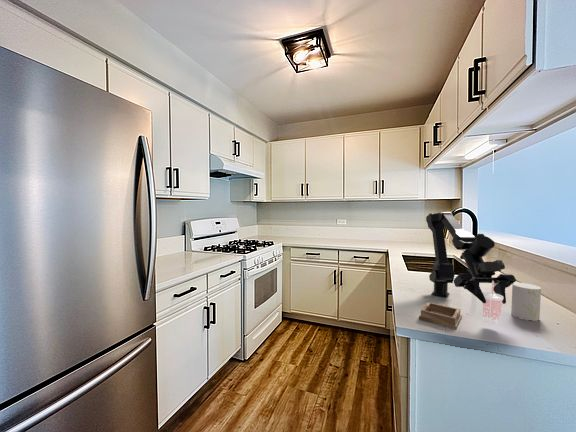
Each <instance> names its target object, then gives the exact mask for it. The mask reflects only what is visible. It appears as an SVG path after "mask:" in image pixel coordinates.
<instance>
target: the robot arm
mask: <svg viewBox="0 0 576 432" xmlns="http://www.w3.org/2000/svg"><path fill="white" fill-rule="evenodd" d="M425 221H426V223H427V227H428V229H430V231H431V233H432V239H433V247H434V248H433V249H434V258H435V262H434V264H433V266H432V271H431V272H430V274H429V275H428V278H429V281H430V282H432V283H433V291H432V292H431V295H433V296H438V297H443V298H448V297H449V296H450V292H449V291H448V289H449V284H454V286H455V288H456V287H457V288H463V289H464V290H467V291H468V292H469V293H471V294H472V295H473V296H475V297H476V298H477V299H478V300H479V301H480V302H482V304H483V303H486V300H485V297H484V295H483V293H482V292H483V291H482V289H481V286H480V284H492V281H494V290H493V293H496V294H500V295H502V296H503V297H504V298H503V300H502V305H505V304H506V303H507V297H506V296H507V295H506V289H507V288H509V287H511V285H512V284H513V283H516V282H517V279H516V277H515V276H514V274H511V273H500V274H498V275H497V277H492V276H495V275H496V272H502V270H505V269H506V266H505V263H504V262H503V260H501V259H496V260H493V261H484V258H483V257H485V256H487V255H488V253H490V251H492V250H493V248H494V247H495V244H496V243H495V241H494V240H493V239H492V238H491V237H489V236H486V235H485V233H477V234H476V235H473V234H472V233H470V232H469V231H466V230H464V228H463V226H461V224H460V223H459V221H457V219H456V218H455V217H454V214H453V212H450V211H440V212H436V213H432V212H431V213H428V215H426V218H425ZM445 228H446V230H447V231H448V232H449V234H450V235H451V237H452V239H451V242H452V244H453V246H454V248H455V249H456V250H459V251H462V252H461V255H460V257H459V259H460V260H464V262H465V264H466V267H467V268H466V271H467V272H466V273H465V272H464V273H462V272H461V273H458V274H457V276H456V277H455V274H456V273H455V271H454V269H455V268H454V265H453V264H452V263H450V262H449V260H448V254H447V246H446V238H445V237H446V236H445Z"/></svg>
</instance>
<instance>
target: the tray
mask: <svg viewBox="0 0 576 432" xmlns="http://www.w3.org/2000/svg"><path fill="white" fill-rule="evenodd" d="M462 319H463V315H462V314H461V308H457V307H453V306H447V305H443V304H440V303H434V302H430V301H428V302H427V303H425V305H424V306H423V307H422V308H421V310H420V315H419V316H418V320H419V321H423V322H426V323H430V324H433V325H437V326H441V327H444V328H445V327H446V328H448V329H449V328H450V329H452V330H457V329H458V327H459V325H460V323H461V322H462Z"/></svg>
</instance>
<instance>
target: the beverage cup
mask: <svg viewBox="0 0 576 432" xmlns="http://www.w3.org/2000/svg"><path fill="white" fill-rule="evenodd" d="M482 293H483V295H484V297H485V300H486V303H483V302H482V320H483V321H485V322H487V323H491V324H500V321H501V314H502V307H503V303H502V300H503V298H504V297H503V296H502V295H500V294H496V293H495V292H494V281H492V283H491V291H490V292H489V291H482Z"/></svg>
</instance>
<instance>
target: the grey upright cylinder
mask: <svg viewBox="0 0 576 432" xmlns="http://www.w3.org/2000/svg"><path fill="white" fill-rule="evenodd" d="M511 288H512V289H511V310H510V313H511V316H513V317H515V316H516V317H515V318H517V317H518V318H517V319H520V318H521V319H520V320H523V319H525V320H524V321H528V320H532V321H531V322H538V321H537V320H539V319H541V300H542V299H541V298H542V288H541V287H540V286H539V285H535V284H531V283H527V282H514V283H513V284H512V287H511ZM539 321H540V320H539Z"/></svg>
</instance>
